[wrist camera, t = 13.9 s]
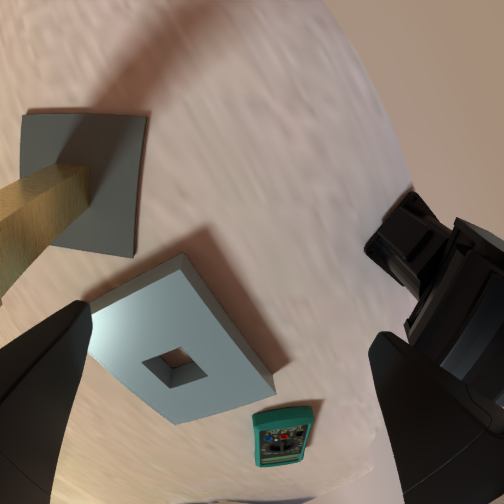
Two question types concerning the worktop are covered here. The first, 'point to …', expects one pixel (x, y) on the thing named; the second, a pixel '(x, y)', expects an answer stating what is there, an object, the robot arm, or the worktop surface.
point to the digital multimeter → (281, 435)
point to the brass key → (38, 215)
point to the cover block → (176, 345)
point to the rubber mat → (92, 173)
